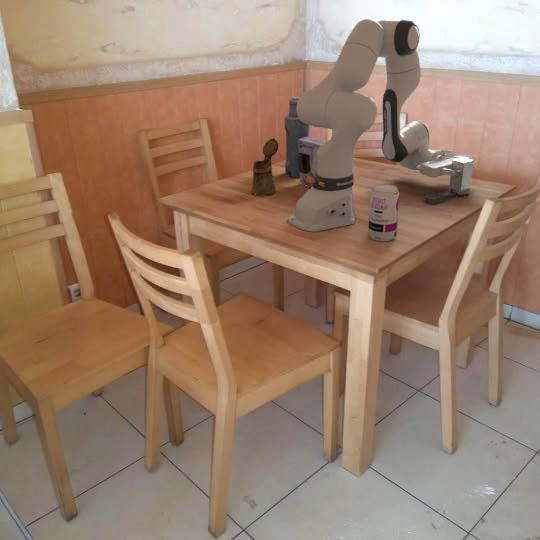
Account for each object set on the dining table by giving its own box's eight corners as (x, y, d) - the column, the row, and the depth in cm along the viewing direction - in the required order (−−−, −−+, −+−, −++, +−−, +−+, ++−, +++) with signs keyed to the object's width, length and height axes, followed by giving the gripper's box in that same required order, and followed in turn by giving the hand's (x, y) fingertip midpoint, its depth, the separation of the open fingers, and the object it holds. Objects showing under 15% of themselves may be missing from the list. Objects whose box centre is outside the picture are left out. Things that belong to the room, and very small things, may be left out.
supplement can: (394, 231, 167) (398, 183, 161) (397, 242, 160) (401, 192, 154) (367, 231, 168) (369, 183, 162) (368, 242, 161) (371, 192, 154)
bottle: (283, 172, 227) (281, 96, 214) (306, 170, 229) (306, 94, 215) (288, 178, 219) (286, 100, 206) (312, 176, 220) (312, 98, 207)
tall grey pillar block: (460, 191, 192) (464, 163, 188) (449, 188, 196) (452, 160, 191) (470, 188, 195) (473, 160, 190) (458, 185, 198) (461, 157, 194)
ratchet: (457, 189, 200) (459, 171, 198) (473, 194, 195) (476, 176, 192) (420, 200, 191) (422, 182, 188) (436, 205, 186) (438, 187, 183)
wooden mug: (285, 186, 210) (284, 139, 202) (267, 197, 199) (266, 147, 192) (265, 183, 214) (263, 137, 206) (246, 194, 204) (244, 145, 196)
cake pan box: (297, 183, 213) (296, 137, 205) (307, 181, 216) (307, 135, 208) (327, 196, 199) (328, 147, 191) (339, 193, 201) (340, 144, 193)
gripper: (413, 158, 195) (444, 167, 185) (452, 149, 206) (483, 156, 195) (411, 176, 198) (442, 185, 188) (450, 165, 208) (481, 174, 198)
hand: (464, 170), depth 192 cm, fingers open, 8 cm apart
